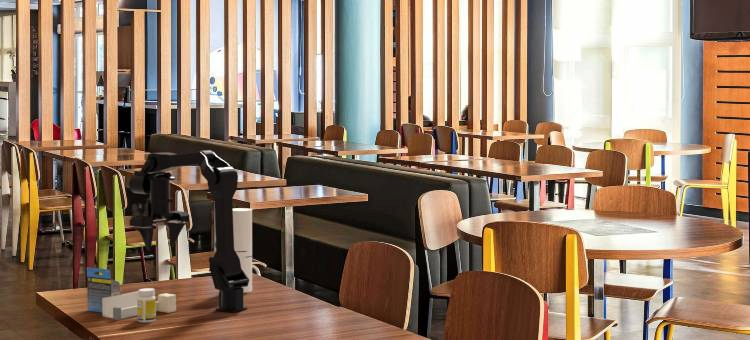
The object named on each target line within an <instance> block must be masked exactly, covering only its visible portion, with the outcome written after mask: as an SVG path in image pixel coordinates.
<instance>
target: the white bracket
mask: <svg viewBox="0 0 750 340" xmlns="http://www.w3.org/2000/svg"><path fill="white" fill-rule="evenodd" d="M151 289H154V295H153V296H155V297H156V288H153V287H151ZM138 297H139V290H137V291H132V292H126V293H122V294H121V293H120V295H116V296H111V297H106V298H102V315H101V316H102V317H103V318H108V319H109V318H110V319H112V320H114V321H115V320H116V321H121V320H125V319H128V318H133V317H136V316H137V317H138V310H137V298H138ZM176 311H177V295H176V294H173V293H167V292H165V293H160V294H157V301H156V312H161V313H165V314H166V313H168V314H169V313H173V312H176Z"/></svg>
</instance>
